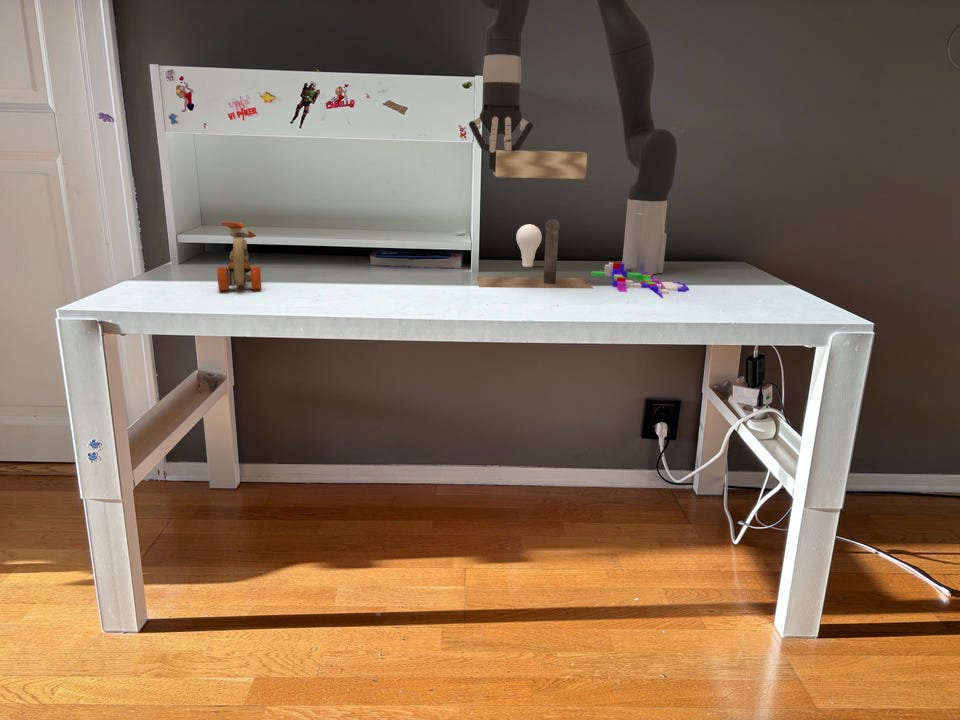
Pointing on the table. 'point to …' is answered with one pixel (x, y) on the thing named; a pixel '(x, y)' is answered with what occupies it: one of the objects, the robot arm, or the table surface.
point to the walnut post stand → (549, 269)
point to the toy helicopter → (238, 261)
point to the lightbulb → (528, 243)
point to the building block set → (644, 277)
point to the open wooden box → (541, 164)
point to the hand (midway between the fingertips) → (499, 171)
